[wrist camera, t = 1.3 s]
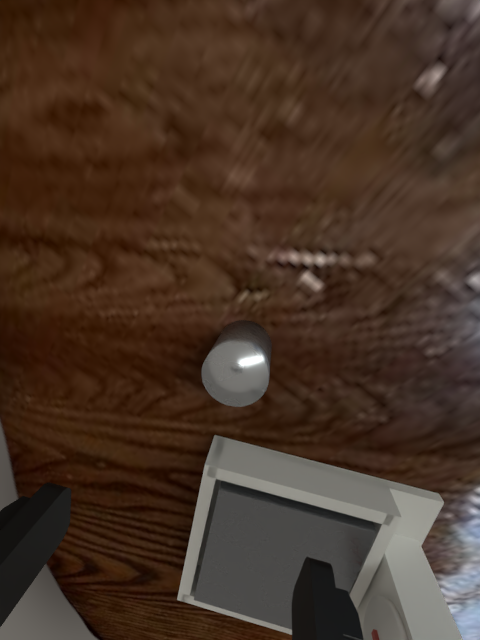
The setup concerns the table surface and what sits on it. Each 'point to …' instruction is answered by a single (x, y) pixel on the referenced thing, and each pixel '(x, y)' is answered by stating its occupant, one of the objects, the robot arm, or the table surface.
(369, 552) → the scale
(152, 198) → the table surface
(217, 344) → the cylinder
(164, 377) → the table surface
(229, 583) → the scale pan
